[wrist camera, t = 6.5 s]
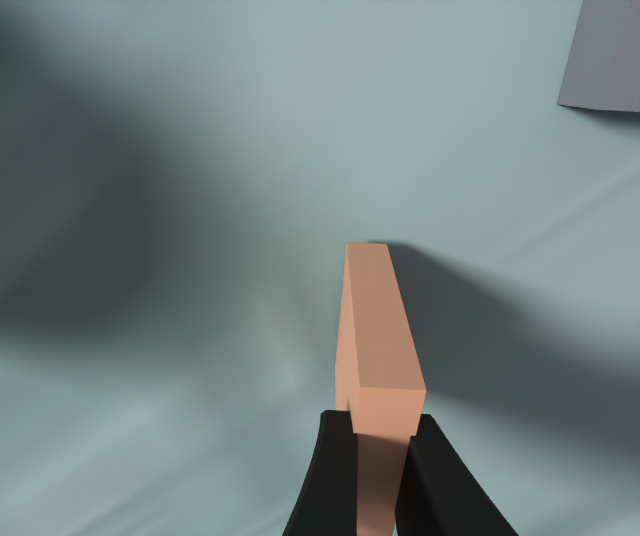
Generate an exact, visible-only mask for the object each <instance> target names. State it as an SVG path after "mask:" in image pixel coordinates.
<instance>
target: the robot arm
mask: <svg viewBox="0 0 640 536" xmlns="http://www.w3.org/2000/svg"><path fill="white" fill-rule="evenodd" d="M357 483H358V434H357V433H353V426H352V419H351V413H350V411H340V410H325V411H324V412H323V413H321V418H320V427H319V433H318V438H317V442H316V446H315V449H314V453H313V456H312V460H311V463H310V466H309V469H308V472H307V474H306V477H305V480H304V483H303V486H302V489H301V491H300V494H299V497H298V499H297V502H296V504H295V507H294V509H293V511H292V514H291V516H290V518H289V521H288V523H287V525H286V528H285V530H284V532H283V535H282V536H357ZM395 519H396V529H397V534H398V536H519V535H518V534H517V533H516V532H515V530H514V529H513V528H512V527H511V525H510V524H509V523H508V522H507V520H506V519H505V518H504V517H503V515H502V514H501V513H500V511H499V510H498V509H497V507H496V506H495V505H494V503H493V502H492V501H491V500H490V498H489V497H488V496H487V494H486V493H485V492H484V490H483V489H482V488H481V486H480V485H479V484H478V482H477V481H476V480H475V478H474V477H473V475H472V474H471V473H470V471H469V470H468V468H467V467H466V466H465V464H464V463H463V461H462V460H461V458H460V457H459V456H458V454H457V453H456V451H455V450H454V448H453V447H452V445H451V444H450V442H449V441H448V439H447V438H446V436H445V435H444V433H443V432H442V430H441V429H440V427H439V426H438V424H437V423H436V421H435V420H434V418H433V417H432V416H431V415H430V414H421V416H420V420H419V424H418V428H417V433H416V436H412V435H411V436H410V441H409V446H408V450H407V455H406V460H405V465H404V469H403V474H402V479H401V483H400V488H399V493H398V498H397V502H396V507H395Z"/></svg>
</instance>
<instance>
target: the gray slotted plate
mask: <svg viewBox="0 0 640 536" xmlns="http://www.w3.org/2000/svg"><path fill="white" fill-rule="evenodd" d="M557 104H559V105H567V106H574V107H581V108H589V109H596V110H614V111H634V112H640V0H583V4H582V8H581V12H580V16H579V20H578V24H577V28H576V31H575V35H574V39H573V43H572V47H571V51H570V55H569V59H568V63H567V67H566V71H565V75H564V79H563V83H562V87H561V91H560V95H559V99H558V102H557Z"/></svg>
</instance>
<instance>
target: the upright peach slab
mask: <svg viewBox="0 0 640 536" xmlns="http://www.w3.org/2000/svg"><path fill="white" fill-rule="evenodd" d="M335 390H336V410H340V411H350V413H351V419H352V426H353V433H357V434H358V483H357V536H392V534H393V530H394V525H395V521H396V519H395V507H396V502H397V498H398V493H399V488H400V483H401V479H402V474H403V469H404V465H405V460H406V455H407V450H408V446H409V441H410V436H411V435H412V436H416V433H417V428H418V424H419V420H420V416H421V412H422V407H423V403H424V399H425V395H426V391H427V390H426V387H425V383H424V379H423V376H422V372H421V368H420V365H419V361H418V357H417V354H416V350H415V346H414V342H413V339H412V335H411V331H410V328H409V324H408V320H407V317H406V313H405V309H404V306H403V302H402V298H401V295H400V291H399V287H398V283H397V280H396V276H395V272H394V269H393V265H392V261H391V258H390V254H389V250H388V247H387V244H378V243H360V242H347V247H346V257H345V268H344V279H343V289H342V300H341V311H340V321H339V332H338V342H337V353H336V364H335Z"/></svg>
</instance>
